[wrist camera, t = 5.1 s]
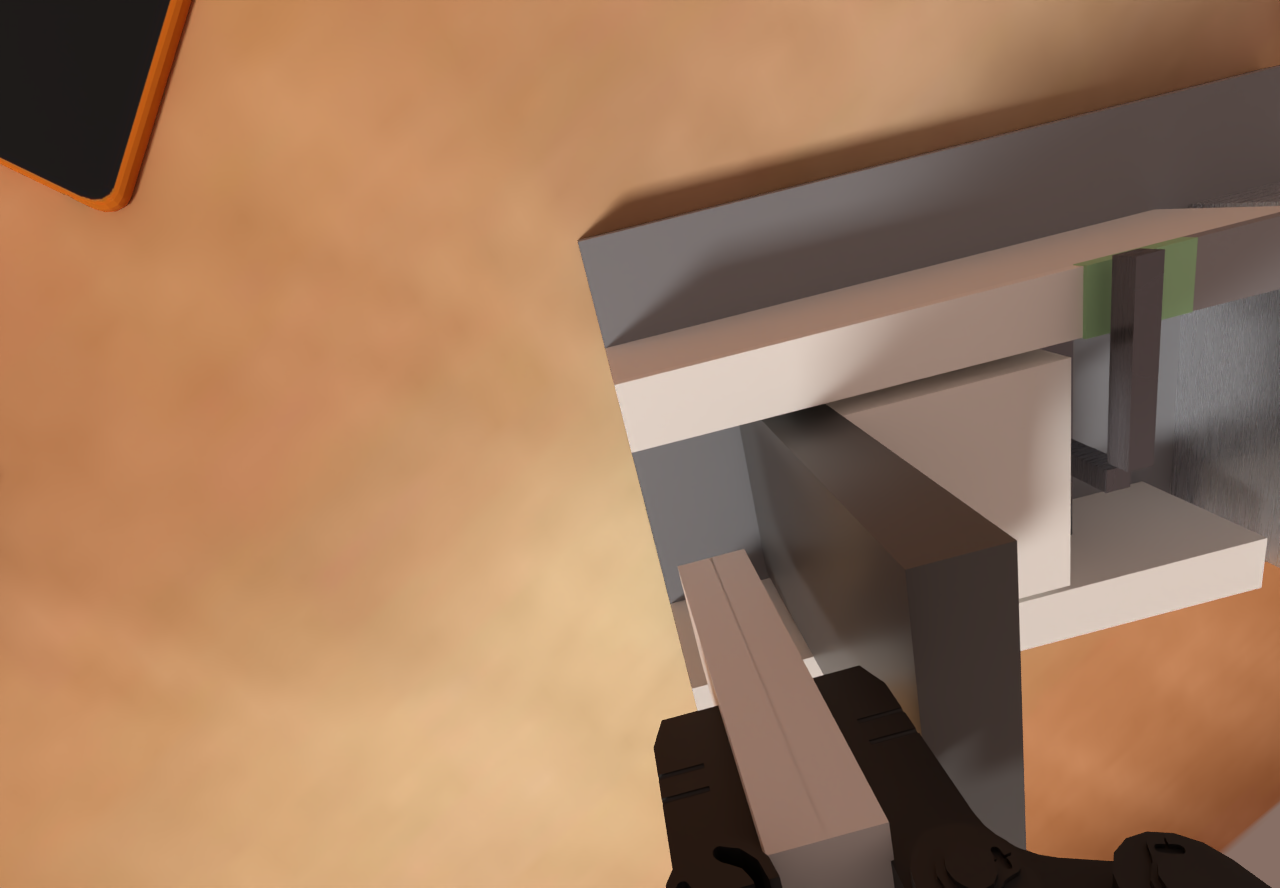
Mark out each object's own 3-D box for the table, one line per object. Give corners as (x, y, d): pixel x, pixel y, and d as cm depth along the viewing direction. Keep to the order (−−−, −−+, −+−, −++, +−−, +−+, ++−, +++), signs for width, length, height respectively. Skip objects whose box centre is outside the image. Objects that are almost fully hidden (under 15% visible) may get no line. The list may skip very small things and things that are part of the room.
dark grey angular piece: (1026, 506, 20) (1165, 592, 16) (978, 518, 20) (1103, 609, 15) (1019, 237, 17) (1189, 243, 13) (964, 252, 17) (1112, 263, 13)
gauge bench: (1217, 533, 24) (1429, 635, 18) (687, 672, 24) (726, 822, 18) (1262, 69, 19) (1585, -5, 13) (577, 240, 19) (579, 247, 12)
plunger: (978, 518, 20) (1327, 772, 11) (767, 572, 20) (936, 877, 11) (968, 330, 18) (1390, 443, 9) (732, 390, 18) (904, 569, 9)
